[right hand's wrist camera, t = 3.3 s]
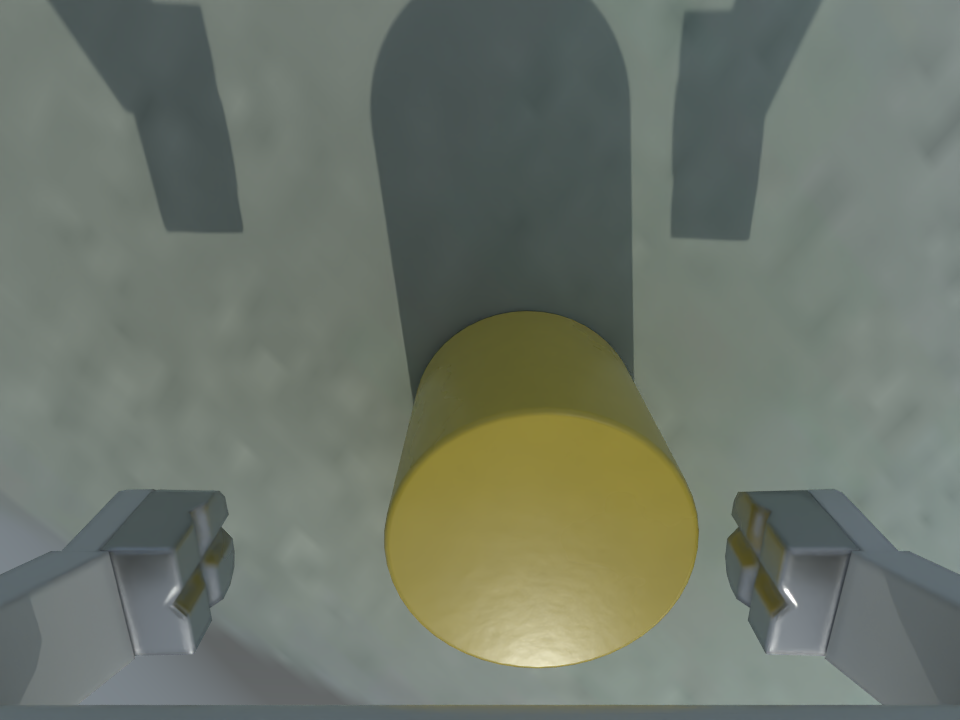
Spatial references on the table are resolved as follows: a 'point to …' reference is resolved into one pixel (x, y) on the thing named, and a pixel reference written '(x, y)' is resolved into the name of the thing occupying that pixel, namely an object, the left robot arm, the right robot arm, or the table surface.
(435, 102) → the table surface
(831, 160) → the table surface
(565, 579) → the canister
